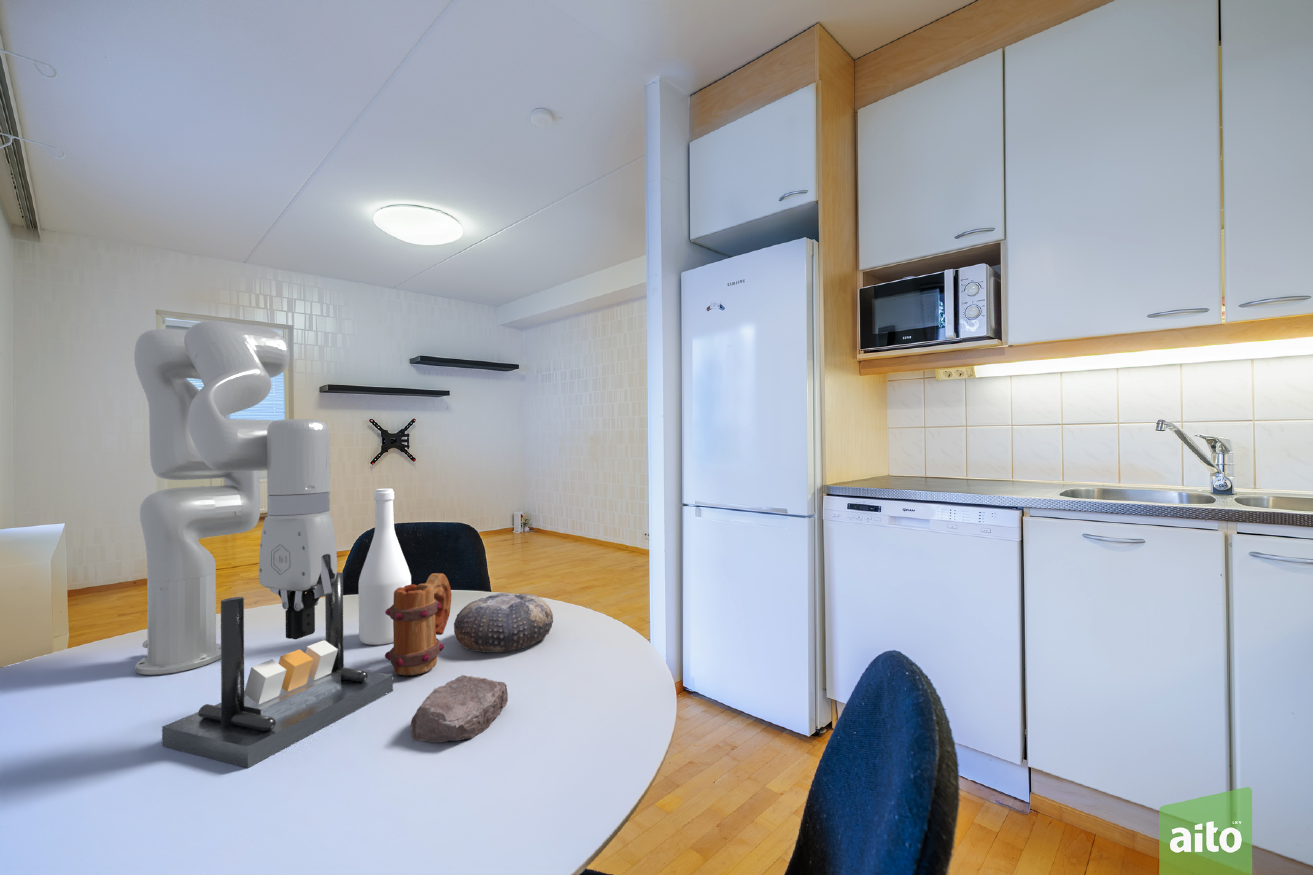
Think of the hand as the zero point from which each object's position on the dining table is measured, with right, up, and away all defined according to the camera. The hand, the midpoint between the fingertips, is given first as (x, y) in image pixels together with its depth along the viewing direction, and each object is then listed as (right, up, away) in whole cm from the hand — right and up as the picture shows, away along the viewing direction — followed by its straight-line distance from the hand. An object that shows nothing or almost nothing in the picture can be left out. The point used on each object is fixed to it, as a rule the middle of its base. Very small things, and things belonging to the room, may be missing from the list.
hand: (300, 635), depth 79 cm
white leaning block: (-1, -8, +4) cm, 9 cm away
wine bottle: (-4, -13, +33) cm, 36 cm away
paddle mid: (-2, -8, +1) cm, 8 cm away
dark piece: (-2, -12, +1) cm, 12 cm away
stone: (+24, -12, -2) cm, 27 cm away
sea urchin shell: (+21, -12, +31) cm, 39 cm away
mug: (+10, -12, +19) cm, 24 cm away
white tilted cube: (-4, -8, -3) cm, 9 cm away
